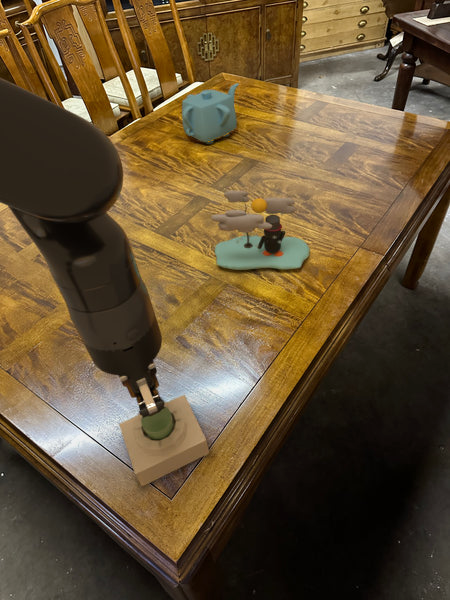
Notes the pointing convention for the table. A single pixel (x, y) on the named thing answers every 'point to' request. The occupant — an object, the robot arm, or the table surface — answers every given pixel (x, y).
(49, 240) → the robot arm
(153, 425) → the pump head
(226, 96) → the teapot
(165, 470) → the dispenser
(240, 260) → the penguin figurine
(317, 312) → the table surface
